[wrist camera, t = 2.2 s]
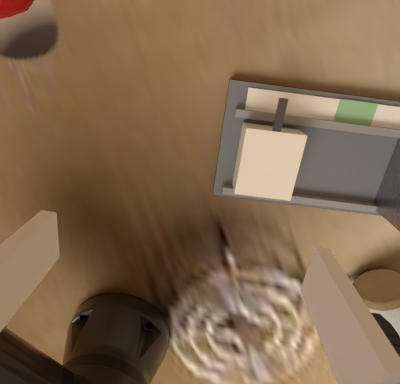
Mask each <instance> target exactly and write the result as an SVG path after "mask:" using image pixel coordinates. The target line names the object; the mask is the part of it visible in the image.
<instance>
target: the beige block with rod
mask: <svg viewBox="0 0 400 384" xmlns="http://www.w3.org/2000/svg"><path fill="white" fill-rule="evenodd" d="M287 103H288V99H286V98H279V101H278V105H277V110H276V115H275V119H274V124H273V126H270V125H263V124H255V123H247V122H243V124H242V130H241V135H240V141H239V147H238V153H237V158H236V164H235V170H234V175H233V181H232V184H233V189H234V194H239V195H247V196H255V197H263V198H271V199H279V200H287V201H290V200H291V197H292V193H293V189H294V185H295V182H296V178H297V174H298V170H299V167H300V163H301V159H302V155H303V152H304V148H305V144H306V140H307V137H308V136H307V135H306V134H304V133H303V132H302V131H300V130H299V129H294V128H286V127H282V125H283V120H284V116H285V112H286V107H287Z"/></svg>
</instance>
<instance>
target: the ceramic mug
mask: <svg viewBox="0 0 400 384" xmlns="http://www.w3.org/2000/svg"><path fill="white" fill-rule="evenodd" d="M353 286H354V287H355V289H356V290H357V292H358V294H359V295H360V297H361V298H362V300H363V301H364V303H365V304H366V306H367V307H368V309H369V311H370V312H371V313H378V314H381V315H382V316H383V317H384V318H385V319H386V320H387V321H388V322H390V323H391V324H392V326H393V327H394V329H395V330H396V331H397V333H398V334H399V336H400V273H399V272H397V271H393V270H388V269H376V270H370V271H367V272H365V273H363V274H361V275H360V276H358V277H357V278H356V279H355V281H354V283H353Z"/></svg>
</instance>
